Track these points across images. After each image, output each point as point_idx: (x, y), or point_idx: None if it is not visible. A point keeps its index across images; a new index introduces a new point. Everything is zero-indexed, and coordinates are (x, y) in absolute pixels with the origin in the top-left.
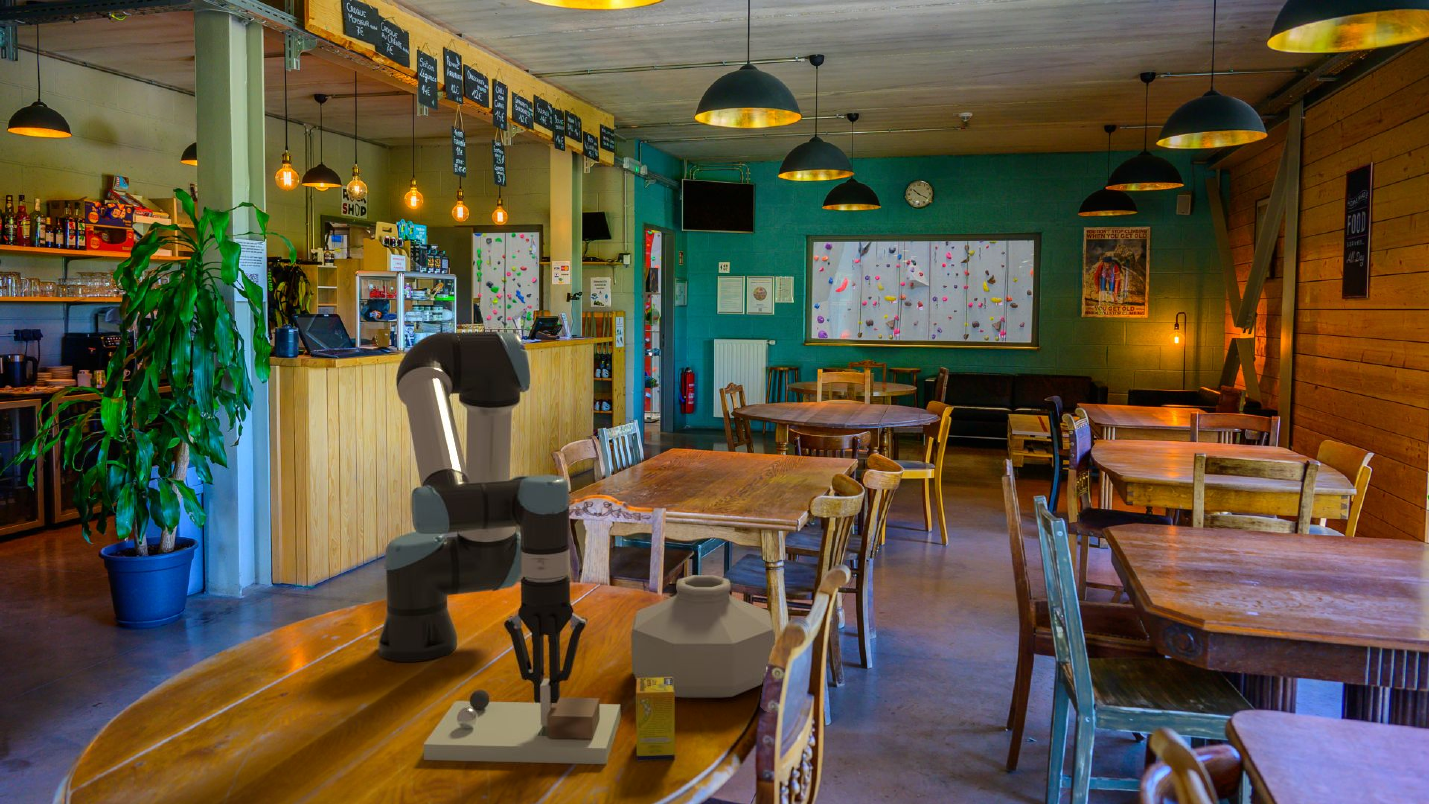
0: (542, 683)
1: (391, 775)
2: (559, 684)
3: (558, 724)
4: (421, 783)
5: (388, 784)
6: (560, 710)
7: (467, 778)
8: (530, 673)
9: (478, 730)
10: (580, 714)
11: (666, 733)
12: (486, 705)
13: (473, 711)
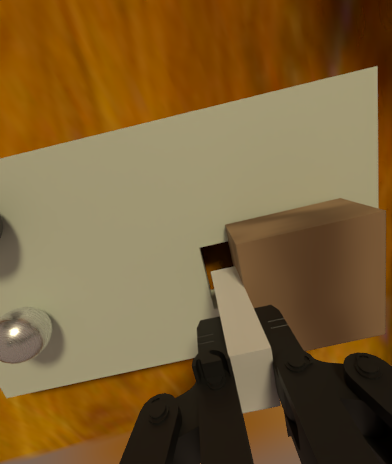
0: (243, 397)
1: (17, 418)
2: (299, 346)
3: None
4: (80, 423)
5: (35, 436)
6: None
7: (139, 395)
8: (196, 462)
9: (71, 322)
10: (348, 330)
11: None
12: (2, 228)
13: (28, 346)
